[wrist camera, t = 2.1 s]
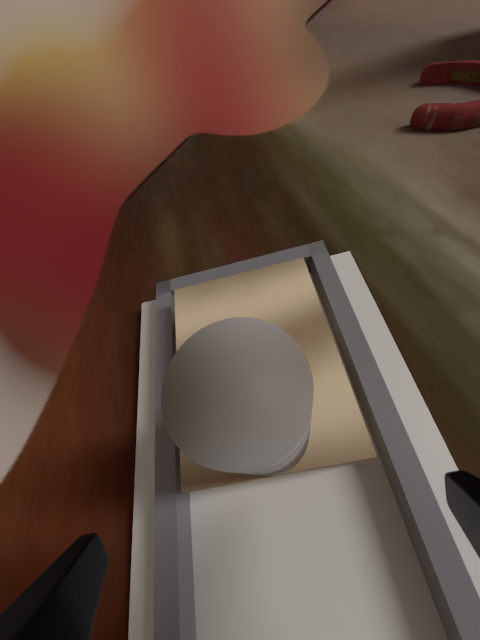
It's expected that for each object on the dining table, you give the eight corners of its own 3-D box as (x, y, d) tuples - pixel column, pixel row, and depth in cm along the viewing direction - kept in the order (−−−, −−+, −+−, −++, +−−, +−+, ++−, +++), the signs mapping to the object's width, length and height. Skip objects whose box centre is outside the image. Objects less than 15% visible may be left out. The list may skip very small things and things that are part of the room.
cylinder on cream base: (362, 461, 15) (458, 431, 6) (204, 490, 16) (61, 505, 7) (303, 288, 21) (302, 138, 12) (191, 315, 22) (109, 195, 13)
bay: (638, 863, 9) (766, 1010, 7) (131, 884, 11) (78, 1009, 8) (347, 259, 23) (353, 232, 21) (147, 309, 25) (129, 290, 23)
